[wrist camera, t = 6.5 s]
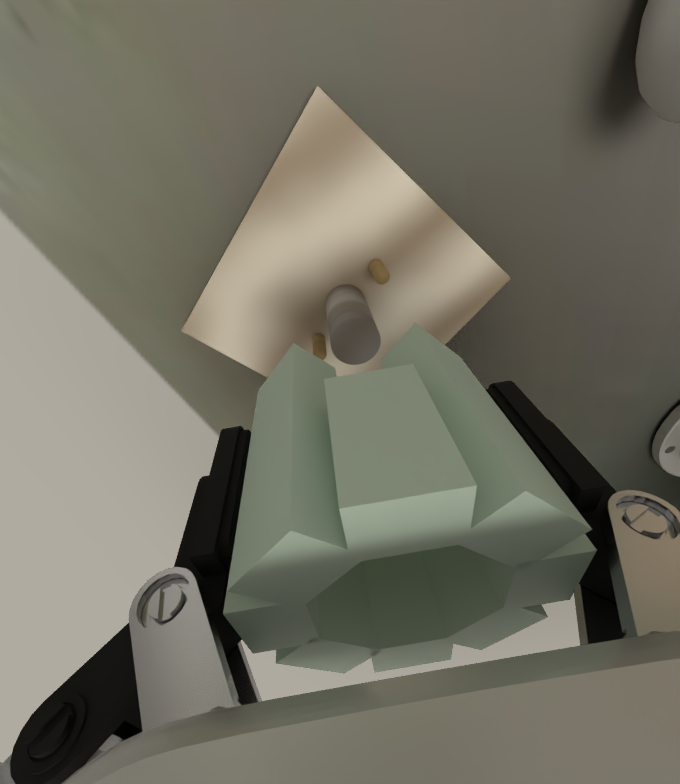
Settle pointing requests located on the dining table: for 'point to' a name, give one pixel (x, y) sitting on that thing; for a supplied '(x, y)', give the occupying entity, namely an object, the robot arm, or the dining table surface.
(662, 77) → the donut
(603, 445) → the dining table surface
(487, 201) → the dining table surface
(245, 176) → the dining table surface
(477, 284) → the post base
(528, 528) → the collar
